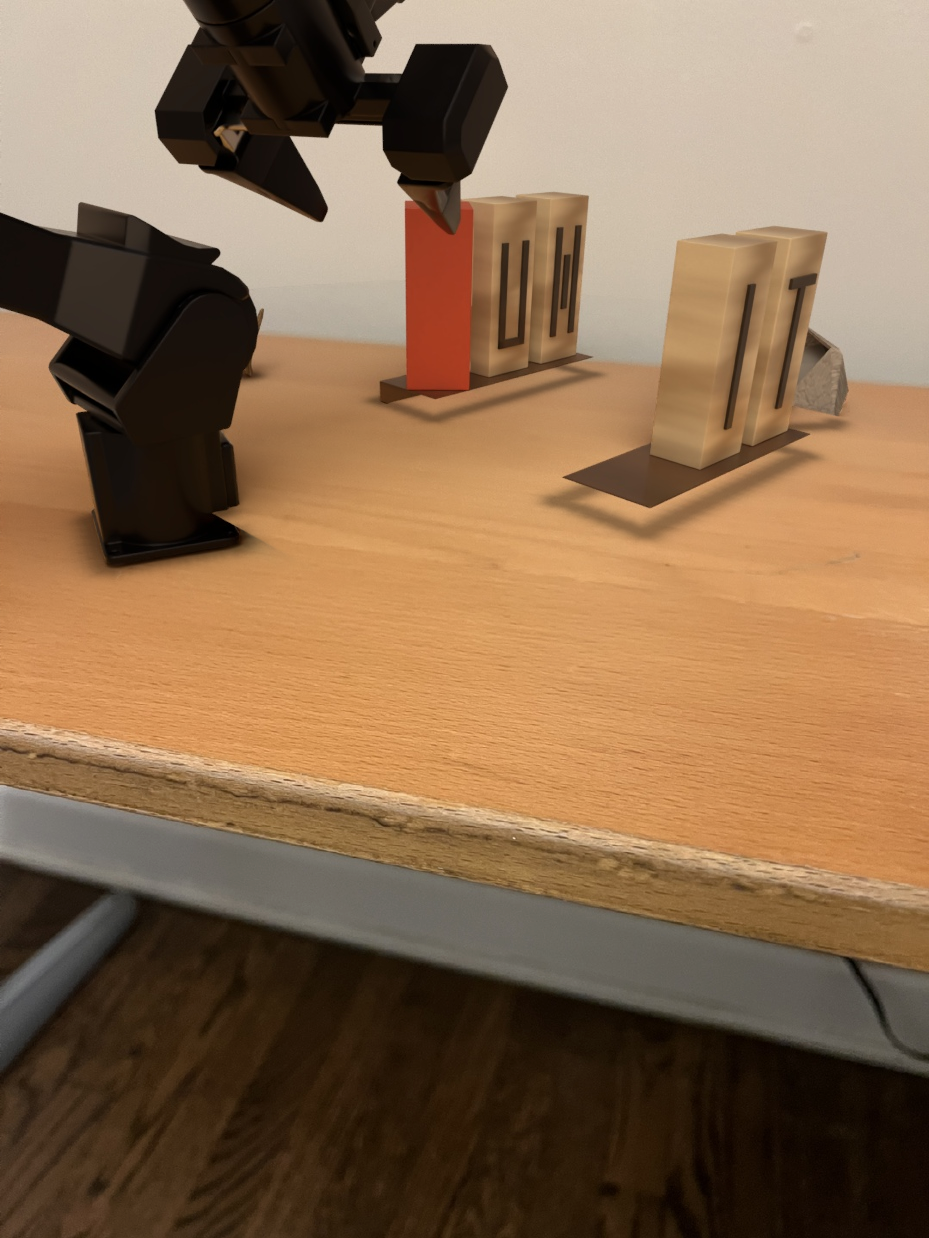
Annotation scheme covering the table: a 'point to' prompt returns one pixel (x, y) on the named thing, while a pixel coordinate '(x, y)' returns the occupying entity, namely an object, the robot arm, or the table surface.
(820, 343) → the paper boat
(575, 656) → the table surface
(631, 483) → the sit board
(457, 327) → the red letter block
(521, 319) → the wooden blocks on base
